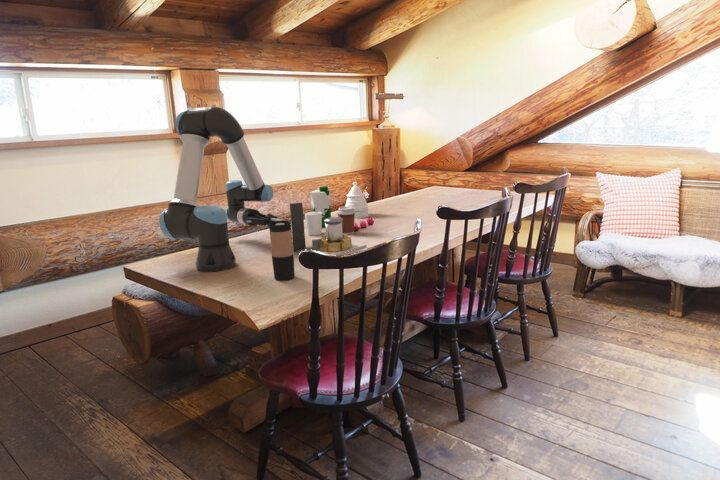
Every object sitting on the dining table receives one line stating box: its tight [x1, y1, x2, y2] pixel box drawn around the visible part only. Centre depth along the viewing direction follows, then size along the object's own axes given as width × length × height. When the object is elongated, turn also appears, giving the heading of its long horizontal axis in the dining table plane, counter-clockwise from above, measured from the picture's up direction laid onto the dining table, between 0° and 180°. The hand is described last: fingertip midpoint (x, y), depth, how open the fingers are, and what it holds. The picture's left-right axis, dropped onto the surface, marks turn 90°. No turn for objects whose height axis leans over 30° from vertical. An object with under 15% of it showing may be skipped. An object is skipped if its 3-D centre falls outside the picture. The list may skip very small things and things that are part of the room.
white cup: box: [304, 211, 323, 236], centre depth 251 cm, size 8×8×10 cm
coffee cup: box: [335, 206, 356, 235], centre depth 250 cm, size 9×9×12 cm
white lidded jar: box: [324, 216, 343, 243], centre depth 222 cm, size 8×8×13 cm
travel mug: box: [268, 220, 296, 282], centre depth 186 cm, size 8×8×20 cm
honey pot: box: [344, 181, 369, 219], centre depth 287 cm, size 13×13×18 cm
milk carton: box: [309, 186, 332, 229], centre depth 265 cm, size 9×9×20 cm
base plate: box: [316, 241, 367, 256], centre depth 223 cm, size 21×17×1 cm
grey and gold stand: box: [289, 201, 352, 253], centre depth 218 cm, size 22×16×20 cm
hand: (281, 223), depth 223 cm, fingers closed
